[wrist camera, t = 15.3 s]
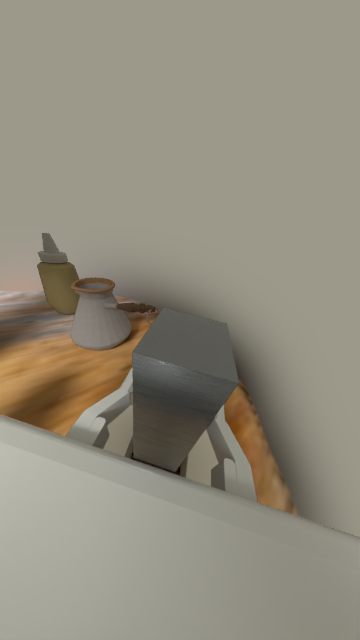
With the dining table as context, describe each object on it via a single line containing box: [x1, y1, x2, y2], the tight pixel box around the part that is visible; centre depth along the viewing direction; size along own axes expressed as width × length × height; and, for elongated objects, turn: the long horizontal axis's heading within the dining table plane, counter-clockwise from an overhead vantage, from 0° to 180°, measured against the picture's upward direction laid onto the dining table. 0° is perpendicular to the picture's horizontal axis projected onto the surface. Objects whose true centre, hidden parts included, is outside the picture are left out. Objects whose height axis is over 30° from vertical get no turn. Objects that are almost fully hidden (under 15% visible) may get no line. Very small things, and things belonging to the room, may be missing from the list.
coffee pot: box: [70, 278, 160, 350], centre depth 24 cm, size 21×12×15 cm, turn 51°
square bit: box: [132, 308, 239, 472], centre depth 10 cm, size 4×4×14 cm
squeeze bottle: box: [37, 233, 80, 314], centre depth 32 cm, size 8×8×18 cm
